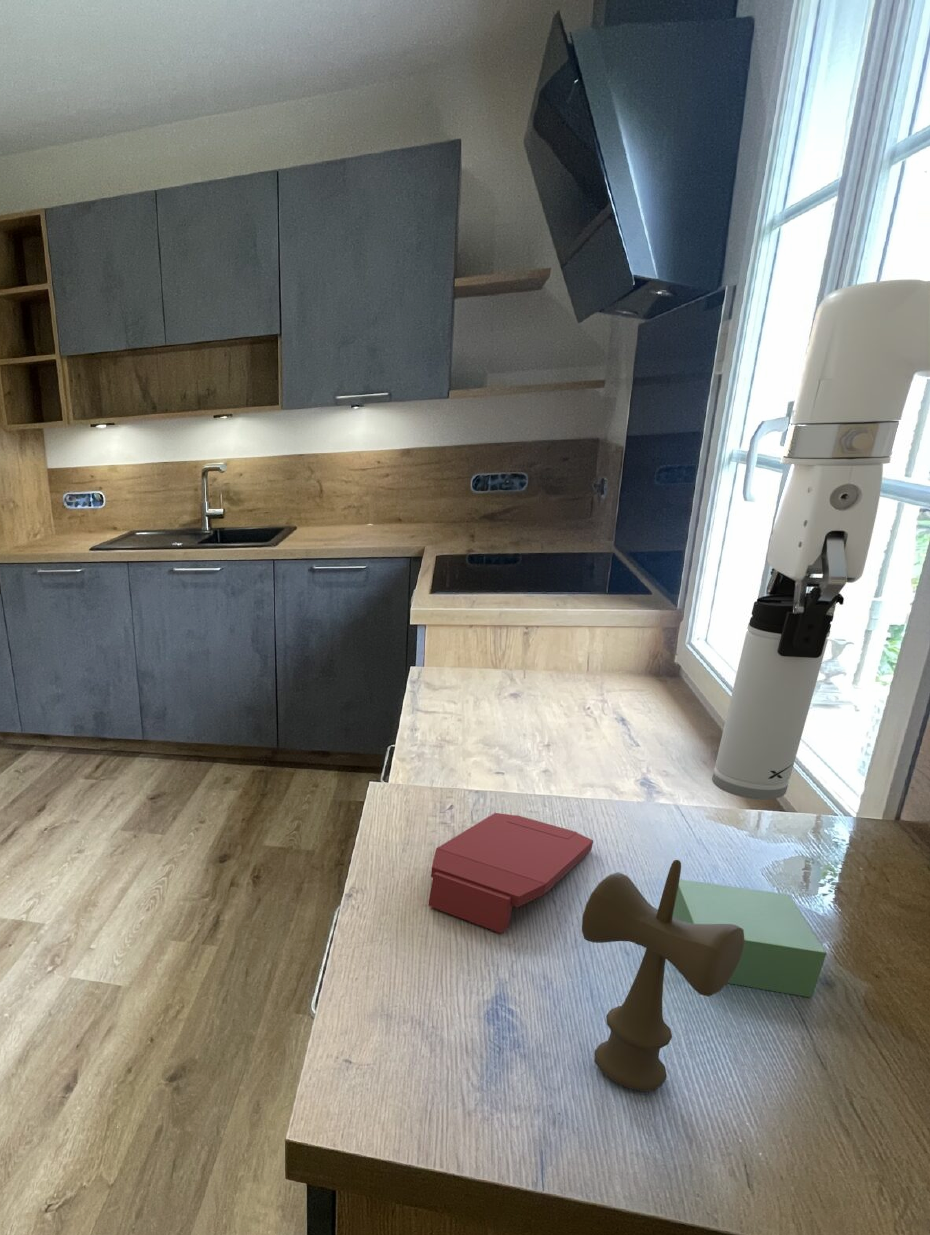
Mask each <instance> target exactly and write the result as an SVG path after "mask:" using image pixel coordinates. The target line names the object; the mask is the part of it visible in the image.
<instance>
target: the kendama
mask: <svg viewBox="0 0 930 1235" xmlns="http://www.w3.org/2000/svg"><path fill="white" fill-rule="evenodd" d="M681 873H682V862H681V860H679V859H674V860H673V861H672V863H671V865H670V867H669V870H668V874H667V877H666V880H665V883H664V887H663V890H662V894H661V897H660V901H659V904H658V908H655V907H654V906H652V905H651V903H650V902H648V901H647V899H646V898H645V897H644V896H643V894H642V892H641V891H640V890H639V888H638V887H637V886H636V884H635V883H634V882H633V880H632V879H631V878H630V877H629V876H628V875H626V874H624V873H622V872H619V871H617V872H614V873H611V874H609V875H607V876H606V877H605V878H604V879H602V880H601V881H600V882H599V883H598V884H597V885H596V887H595V888H594V889H593V891H592V892H591V894H590V896H589V898H588V900H587V902H586V904H585V907H584V910H583V914H582V918H581V919H582V920H581V933H582V937H583V939H584V940H585V941H587V942H589V943H593V944H594V943H595V944H601V943H603V944H604V943H616V942H630V943H634V944H635V945H637V946H641V947H643V948H645V952H644V954H643V958H642V960H641V963H640V965H639V967H638V971H637V973H636V975H635V978H634V980H633V983H632V985H631V987H630V989H629V991H628V993H627V995H626V997H625V999H624V1001H623V1002H622V1005H618V1006H615V1007H613V1008H611V1009H610V1010H609V1011H608V1013H607V1014H606V1016H605V1018H606V1025H607V1027H608V1028H609V1030H610V1033H609V1037H608V1039H607V1040H606V1041H603V1042H601V1043H600V1044H599V1045H598V1046H597V1048H596V1049H595V1050H594V1053H593V1054H594V1063H595V1065H596V1066H597V1067H598V1068H599V1070H600V1071H601V1072H602V1073H603V1074H604V1075H606V1077H608V1078H609V1079H610V1080H612V1081H613V1082H615V1083H617V1084H619V1085H620V1086H623V1087H625V1088H628V1089H631V1090H636V1091H640V1092H642V1091H643V1092H645V1091H654V1090H657V1089H658V1088H660V1087H662V1086H663V1084H664V1083H665V1081H666V1079H667V1076H668V1075H667V1068H666V1066H665V1064H664V1063H663V1062H662V1061H661V1059H660V1058H659V1057H660V1051H661V1049H662V1048H664V1047H666V1046H668V1045H669V1044H670V1042H671V1040H672V1038H673V1034H672V1030H671V1028H670V1026H668V1024H666V1022H665V1020H664V1016H663V999H664V998H663V994H664V979H665V967H666V960H667V961H668V962H669V963H670V964H672V966H673V967H674V968H675V969H676V970H677V971H678V972H679V973H680V974H681V976H682V977H683V978H684V979H685V981H686V982H687V983H688V984H689V986H690V987H691V988H692V989H693V990H694V991H695V992H696V993H697V994H699V995H700V996H704V997H711V996H713V995H716V994H717V993H719V992H720V991H721V990H723V988H724V987H725V986H726V985H727V984H728V983H727V982H728V980H729V979H730V977H731V976H732V975H733V973H734V971H735V969H736V967H737V965H738V963H739V960H740V957H741V954H742V952H743V947H744V941H745V940H744V931H743V929H742V928H740V927H739V926H737V925H733V924H693V923H688V922H685V921H681V920H679V919H676V918H674V917H673V912H674V907H675V901H676V896H677V891H678V885H679V880H680V879H681Z"/></svg>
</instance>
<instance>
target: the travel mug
mask: <svg viewBox="0 0 930 1235" xmlns="http://www.w3.org/2000/svg"><path fill="white" fill-rule="evenodd" d="M809 593H810V592H806V597H807V595H808V594H809ZM839 594H840V597H839V598H837V600H836V605H837V604H839V605H840V606H843V605H844V601H845V598H844V596H843V595H842V594H841V593H839ZM793 602H794V593H787V594H776V595H768V596H767V595H763V596H760V597H758V598H757V599H756V601H754V602H753V605H752V609H751V617H750V619H749V622H748V625H747V628H746V633H745V637H744V639H743V640H744V641H743V645H742V649H741V653H740V658H739V662H738V667H737V671H736V675H735V679H734V683H733V687H732V692H731V696H730V700H729V705H728V709H727V713H726V716H725V723H724V725H723V730H722V734H721V739H720V742H719V747H718V751H717V756H716V760H715V763H714V764H715V766H714V769H713V773H712V777H711V781H712V783H713V785H714V786H715V787H717V788H718V789H719V790H721V791H723V792H725V793H728V794H730V795H734V796H737V797H740V798H745V799H751V800H758V801H759V800H760V801H762V800H763V801H766V800H767V801H768V800H777V799H780V798H782V797H784V796H785V795H786V794H787V791H788V787H789V783H790V779H791V776H792V772H793V769H794V765H795V761H796V758H797V754H798V751H799V747H800V743H801V739H802V736H803V732H804V728H805V725H806V722H807V717H808V715H809V711H810V707H811V703H812V700H813V696H814V692H815V689H816V685H817V682H818V678H819V675H820V670H821V667H822V664H823V659H824V656H825V653H826V649H827V646H828V641H829V639H828V638H829V637H830V634H831V629H832V624H831V623H833V621H834V618H835V617H834V616H835V613H834V614H833V615H832V618H831V622H830V625H829V629H828V633H827V636H826V640H825V644H824V647H823V651H822V654H821V656H820V657H818V658H805V657H786V656H781V655H779V654H778V652H777V651H778V647H779V643H780V639H781V635H782V631H783V627H784V623H785V619H786V615H787V612H793Z"/></svg>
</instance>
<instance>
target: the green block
mask: <svg viewBox="0 0 930 1235" xmlns="http://www.w3.org/2000/svg"><path fill="white" fill-rule="evenodd" d="M673 917H674V918H676V919H679V920H681V921H685V922H688V923H693V924H733V925H737V926H739V927H740V928H742V929H743V931H744V940H745V941H744V947H743V952H742V954H741V957H740V960H739V963H738V965H737V967H736V969H735V971H734V973H733V975H732V976H731V977H730V979H729V980H728V982H727V983H726V984H729V985H730V984H731V985H736V986H741V987H747V988H752V989H753V988H754V989H760V990H765V991H771V992H777V993H783V994H788V995H794V996H800V997H805V998H813V996H814V993H815V989H816V987H817V983H818V981H819V977H820V974H821V971H822V968H823V965H824V962H825V959H826V956H827V951H826V950H825V948H824V946H823V945H822V944H821V942H820V940H819V938H818V937H817V936H816V934H815V932H814V931H813V929H812V927H811V926H810V924H809V923H808V921H807V920H806V917H805V916H804V915H803V913H802V911H801V910H800V908H799V907H798V905H797V903H796V902H795V901H794V898H793V897H792V896H791V894H789V893H788V894H787V893H781V892H774V891H768V890H760V889H754V888H747V887H738V886H731V885H724V884H716V883H709V882H704V881H703V882H702V881H695V880H689V879H681V878H680V880H679V885H678V891H677V896H676V901H675V907H674V912H673Z"/></svg>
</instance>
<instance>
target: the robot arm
mask: <svg viewBox="0 0 930 1235" xmlns="http://www.w3.org/2000/svg"><path fill="white" fill-rule="evenodd" d="M803 361H804V362H803V364H802V365H803V366H802V370H801V374H800V378H799V383H798V386H797V391H796V396H795V400H794V403H793V408H792V412H791V417H790V420H789V425H788V431H787V433H786V438H785V442H784V447H783V451H782V454H781V456H782V457H781V460H780V464H782V465H791V466H790V468H789V471H788V475H787V478H786V481H785V482H784V487H783V491H782V494H781V497H780V501H779V505H778V508H777V511H776V515H775V519H774V524H773V527H772V532H771V536H770V540H769V545H768V551H767V559H766V560H767V563H768V565H769V566H770V567H771V571H770V575H771V576H770V578H769V581H768V584H767V586H766V589H765V596H768V595H776V594H787V593H794V602H793V612H787V615H786V619H785V623H784V627H783V631H782V635H781V639H780V643H779V647H778V651H777V652H778V654H779V655H781V656H786V657H805V658H818V657H820V656H821V654H822V651H823V647H824V644H825V640H826V636H827V633H828V629H829V625H830V624H831V623H832V622H831V618H832V615H833V614H834V615H835V611H836V607H837V604H836V600H837V598H839V597H840V594H841V592H842V590H843V589H844V587H845V586H846V584H849V583H850V584H851V583H855V582H857V581H858V580H859V579H861V578H862V576H863V574H864V570H865V566H866V562H867V559H868V554H869V549H870V545H871V541H872V536H873V532H874V527H875V524H876V518H877V514H878V508H879V503H880V499H881V490H882V482H883V474H884V465H885V464H890V463H891V459H892V456H893V453H894V449H895V445H896V442H897V439H898V435H899V431H900V428H901V424H902V420H903V418H904V414H905V410H906V407H907V402H908V399H909V397H910V393H911V389H912V386H913V383H914V378H915V377H919V378H922V379H927V380H930V280H921V279H890V280H889V279H888V280H881V281H880V280H879V281H872V282H864V283H857V284H853V285H848V286H844V287H841V288H838V289H836V290H833V291H831V292H830V293H828V294H827V295H826V296H825V297H824V298H823V299H822V300H821V301H820V303H819V304H818V306H817V308H816V312H815V316H814V319H813V322H812V327H811V331H810V335H809V338H808V343H807V348H806V353H805V357H804V360H803ZM812 575H822V576H821V577H813V576H812ZM808 588H811V589H810V591H809V592H808V593H809V594H808V595H807V597H806V593H807V589H808Z"/></svg>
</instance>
